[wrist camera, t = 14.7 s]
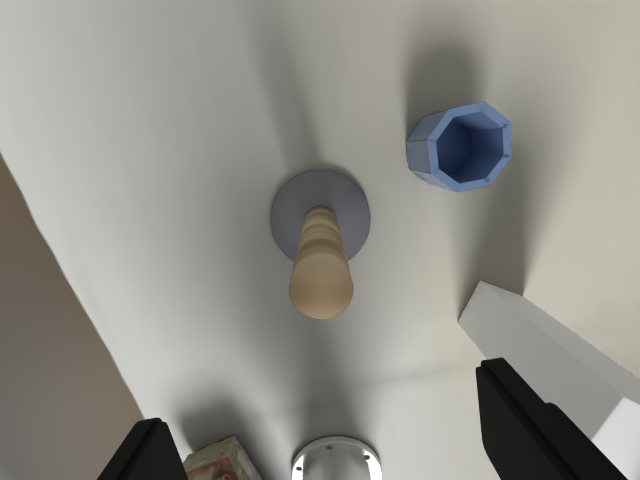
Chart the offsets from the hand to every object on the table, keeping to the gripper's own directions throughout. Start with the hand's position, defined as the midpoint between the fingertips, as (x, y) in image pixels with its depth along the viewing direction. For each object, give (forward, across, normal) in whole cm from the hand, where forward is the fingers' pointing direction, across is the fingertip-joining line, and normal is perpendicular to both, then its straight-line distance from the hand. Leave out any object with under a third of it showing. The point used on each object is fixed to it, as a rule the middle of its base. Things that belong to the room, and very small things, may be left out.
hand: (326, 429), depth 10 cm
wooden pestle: (+27, 0, -1) cm, 27 cm away
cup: (+28, -14, -6) cm, 32 cm away
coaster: (+28, 0, -1) cm, 28 cm away
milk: (+28, -18, +14) cm, 36 cm away
